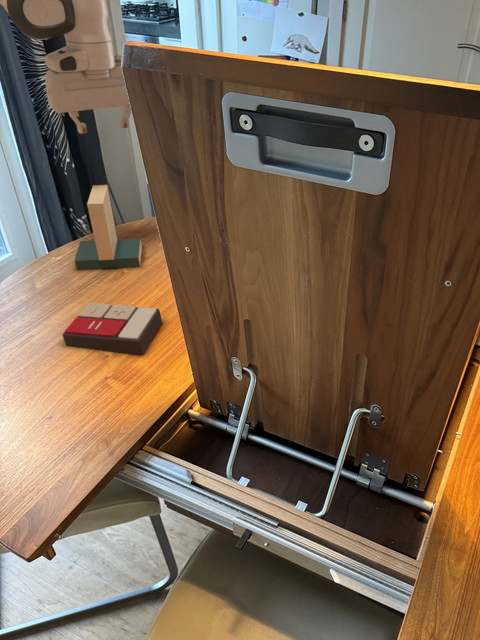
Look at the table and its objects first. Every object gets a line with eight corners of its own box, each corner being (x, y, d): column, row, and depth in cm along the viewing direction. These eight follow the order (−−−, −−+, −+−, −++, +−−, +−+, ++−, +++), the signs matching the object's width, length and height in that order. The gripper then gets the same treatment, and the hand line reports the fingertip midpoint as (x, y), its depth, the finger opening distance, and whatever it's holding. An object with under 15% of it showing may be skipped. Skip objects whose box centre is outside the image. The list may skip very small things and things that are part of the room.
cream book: (98, 260, 116) (86, 203, 108) (103, 238, 124) (92, 184, 116) (114, 259, 116) (103, 203, 108) (118, 238, 125) (108, 184, 117)
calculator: (87, 300, 102) (159, 305, 100) (92, 318, 105) (163, 323, 102) (59, 331, 94) (138, 338, 91) (66, 350, 96) (142, 357, 94)
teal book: (77, 272, 118) (74, 260, 116) (83, 252, 125) (80, 241, 123) (140, 269, 120) (138, 257, 118) (142, 249, 127) (140, 238, 125)
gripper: (134, 51, 111) (143, 121, 120) (36, 57, 102) (53, 132, 111) (146, 56, 107) (154, 127, 116) (45, 62, 98) (62, 139, 107)
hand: (104, 130), depth 113 cm, fingers open, 8 cm apart
